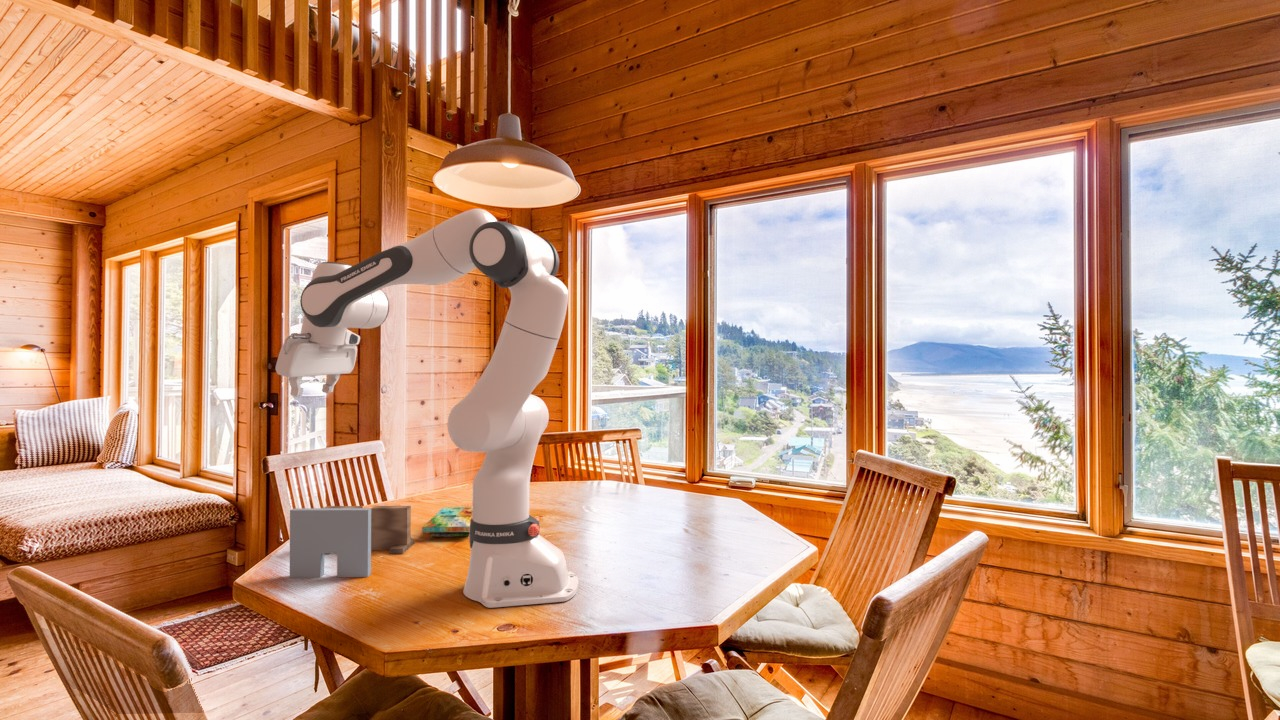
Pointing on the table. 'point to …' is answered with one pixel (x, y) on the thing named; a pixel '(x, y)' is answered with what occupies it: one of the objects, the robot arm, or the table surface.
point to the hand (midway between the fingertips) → (312, 394)
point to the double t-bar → (389, 528)
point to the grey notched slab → (330, 541)
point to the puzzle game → (450, 522)
